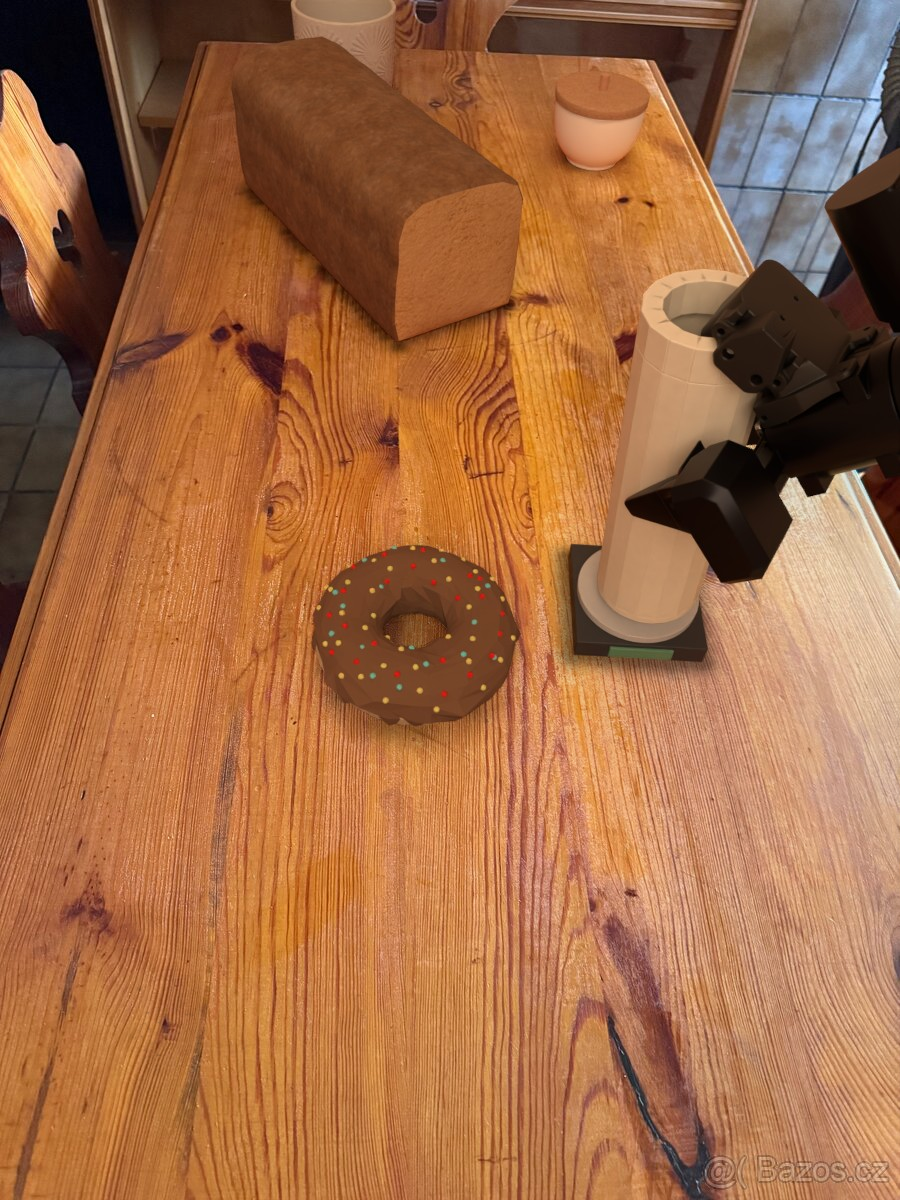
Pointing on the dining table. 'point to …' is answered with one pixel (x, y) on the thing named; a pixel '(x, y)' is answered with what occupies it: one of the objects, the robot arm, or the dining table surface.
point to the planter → (352, 29)
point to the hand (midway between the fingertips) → (654, 471)
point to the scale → (625, 621)
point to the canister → (668, 442)
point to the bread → (375, 187)
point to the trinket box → (598, 117)
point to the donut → (406, 674)
